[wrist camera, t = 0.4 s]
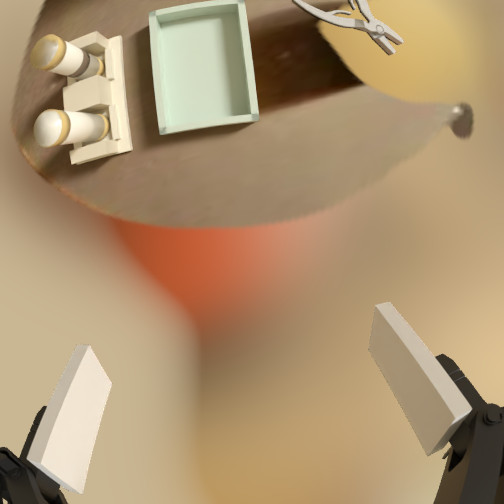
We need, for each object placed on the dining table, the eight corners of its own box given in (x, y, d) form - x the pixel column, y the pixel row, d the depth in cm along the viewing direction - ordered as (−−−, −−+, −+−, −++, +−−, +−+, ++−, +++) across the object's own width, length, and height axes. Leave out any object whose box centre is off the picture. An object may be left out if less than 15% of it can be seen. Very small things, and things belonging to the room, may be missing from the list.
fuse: (85, 118, 29) (31, 116, 18) (108, 110, 29) (60, 103, 18) (88, 144, 30) (35, 152, 19) (112, 137, 31) (64, 141, 20)
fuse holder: (69, 56, 26) (51, 48, 21) (122, 37, 26) (108, 25, 21) (79, 164, 32) (61, 169, 27) (132, 150, 32) (119, 152, 28)
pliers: (331, -36, 22) (412, 29, 27) (328, -32, 24) (407, 32, 28) (294, -2, 25) (384, 68, 29) (291, 2, 26) (379, 69, 31)
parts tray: (155, 22, 26) (148, 12, 23) (242, 9, 26) (244, -3, 23) (165, 134, 32) (159, 134, 29) (255, 121, 33) (259, 120, 29)
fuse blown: (81, 63, 26) (30, 43, 15) (104, 54, 26) (59, 29, 15) (82, 86, 27) (30, 74, 16) (105, 78, 27) (58, 59, 16)
